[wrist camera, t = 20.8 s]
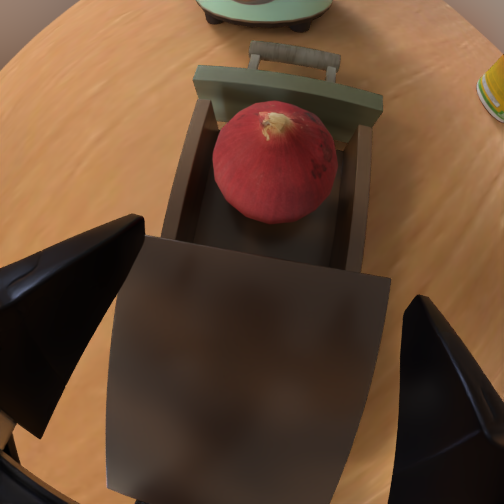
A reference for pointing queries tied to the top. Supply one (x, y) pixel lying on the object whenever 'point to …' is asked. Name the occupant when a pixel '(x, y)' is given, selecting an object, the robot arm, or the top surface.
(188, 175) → the drawer
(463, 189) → the top surface
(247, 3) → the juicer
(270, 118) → the onion
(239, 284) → the cabinet
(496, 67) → the supplement bottle
